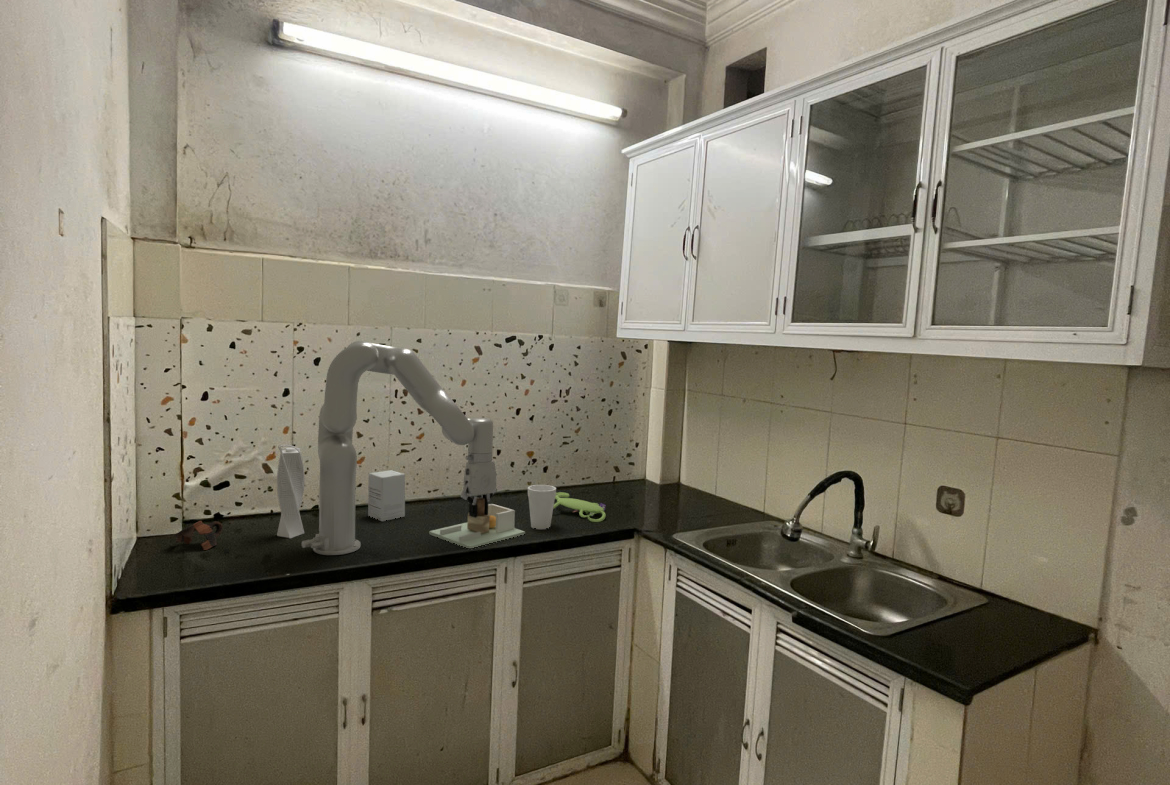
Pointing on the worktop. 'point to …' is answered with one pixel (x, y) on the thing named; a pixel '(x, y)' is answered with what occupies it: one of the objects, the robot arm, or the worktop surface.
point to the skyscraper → (290, 491)
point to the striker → (479, 518)
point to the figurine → (581, 506)
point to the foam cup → (541, 505)
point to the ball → (492, 522)
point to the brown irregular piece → (203, 530)
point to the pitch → (475, 539)
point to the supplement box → (386, 495)
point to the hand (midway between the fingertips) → (478, 514)
